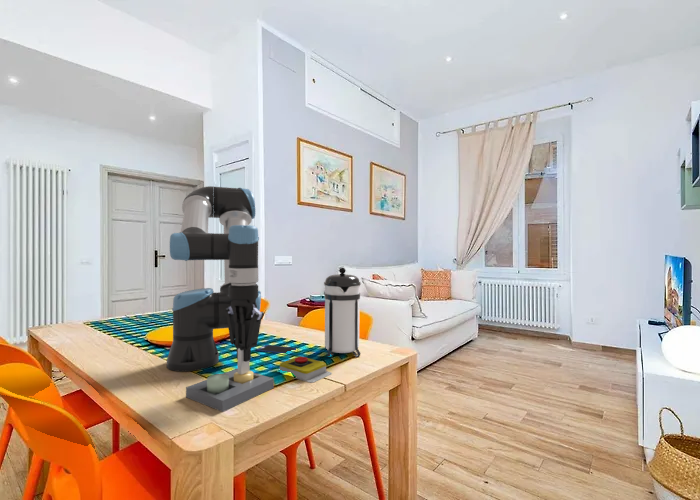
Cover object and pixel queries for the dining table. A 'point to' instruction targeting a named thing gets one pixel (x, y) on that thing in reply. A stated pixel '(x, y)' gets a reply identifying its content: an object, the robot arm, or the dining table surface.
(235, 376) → the tan button
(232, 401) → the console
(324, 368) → the emergency button
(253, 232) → the robot arm
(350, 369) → the dining table surface
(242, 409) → the dining table surface
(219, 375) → the sage button
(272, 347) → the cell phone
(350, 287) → the coffee press
